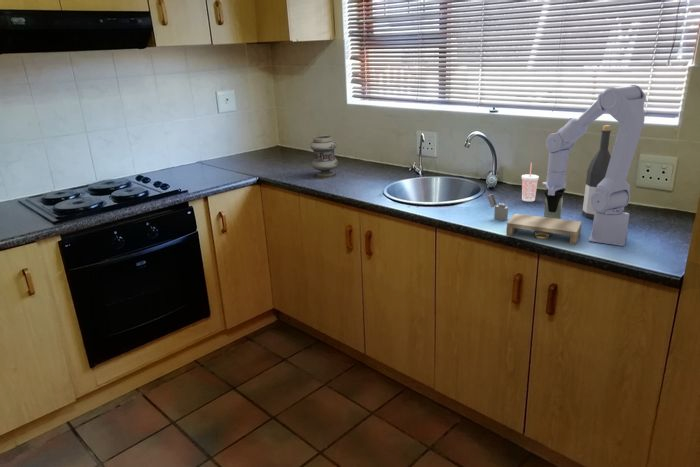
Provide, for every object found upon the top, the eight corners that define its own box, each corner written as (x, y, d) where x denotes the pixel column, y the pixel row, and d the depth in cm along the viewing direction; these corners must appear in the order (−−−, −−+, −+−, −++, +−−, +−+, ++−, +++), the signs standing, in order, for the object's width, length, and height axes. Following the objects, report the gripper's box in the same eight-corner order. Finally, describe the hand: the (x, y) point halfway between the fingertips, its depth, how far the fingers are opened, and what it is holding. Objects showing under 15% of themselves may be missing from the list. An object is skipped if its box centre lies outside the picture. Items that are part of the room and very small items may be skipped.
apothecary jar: (309, 174, 248) (307, 135, 242) (334, 171, 251) (332, 133, 245) (316, 180, 237) (313, 139, 231) (341, 177, 240) (339, 137, 234)
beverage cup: (518, 201, 196) (520, 164, 191) (521, 196, 201) (524, 160, 196) (535, 202, 193) (538, 165, 188) (538, 198, 198) (541, 161, 193)
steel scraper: (561, 220, 174) (563, 196, 172) (552, 235, 162) (555, 210, 159) (543, 218, 177) (546, 195, 174) (534, 232, 165) (536, 208, 162)
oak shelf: (580, 233, 162) (581, 221, 161) (575, 244, 154) (576, 232, 153) (514, 225, 172) (514, 213, 170) (506, 235, 164) (507, 222, 162)
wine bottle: (576, 213, 180) (587, 125, 169) (595, 210, 182) (606, 122, 172) (594, 220, 173) (606, 128, 162) (613, 217, 175) (627, 126, 165)
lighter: (507, 219, 177) (509, 196, 175) (505, 220, 176) (506, 197, 174) (488, 215, 182) (489, 193, 179) (486, 216, 181) (487, 194, 178)
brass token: (549, 236, 162) (550, 233, 162) (547, 240, 159) (547, 237, 159) (536, 234, 164) (536, 231, 164) (533, 238, 161) (533, 235, 161)
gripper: (548, 164, 177) (544, 203, 182) (539, 174, 165) (535, 215, 170) (570, 166, 174) (566, 205, 178) (563, 176, 162) (558, 218, 167)
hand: (552, 210), depth 174 cm, fingers closed on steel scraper
